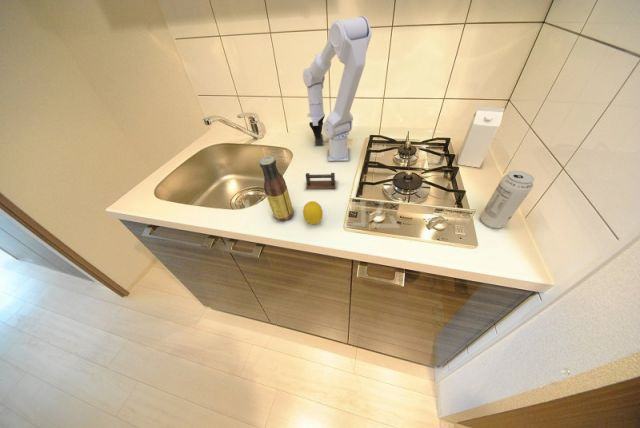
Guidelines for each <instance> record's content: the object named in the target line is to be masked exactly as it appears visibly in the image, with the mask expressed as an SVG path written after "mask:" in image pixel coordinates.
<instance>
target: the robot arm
mask: <svg viewBox="0 0 640 428" xmlns="http://www.w3.org/2000/svg"><path fill="white" fill-rule="evenodd" d="M371 39H372V29H371V25H370V22H369V19H368V17H366V16H364V15H360V16H358V17H351V18H345V19H335V20H333V22H332V23H331V25H330V27H329V28H328V39H327V41H326V44H325V46H324V47H323V50H322V52H317V53H316V54H315V55H314V56H315V57H314V58H313V61H312V62H311V64H310V66H309V67H308V68H304V69H303V72H302V79H303V83H304V85H305V87H306V89H307V99H308V109H309V110H308V111H309V112H308V113H307V114H306V116H307V117H308V118H310V119H311V121H310V122H309V127H310V129H311V131H312V133H313V136H314V140H315V139H320V137H321V134H322V133H324V135H325V136H326V138H328V149H329V151H328V157H327V160H328V162H347V161H349V148H348V135H350V132H351V131H352V129H353V120H354V117H353V114H352V112H351V109H352V106H353V102H354V100H355V97H356V94H357V90H358V88H359V85H360V82H361V78H362V75H363V72H364V70H365V69H364V68H365V66H366V60H367V59H366V58H367V57H366V56H367V51H368V48H369V45H370V42H371ZM335 56H336V57H337V58H338V61H339V62H340V63H341V64H344V67H343V71H342V75H341V79H340V83H339V87H338V90H337V91H338V92H337V95H336V100H335V103H334V108H333V110H332V111H331V112H330V113H329V114H328V115H327V116H326V113H325V112H324V95H323V89H324V83H325V80H326V79H325V77H326V76H325V75H326V74H327V72H328V71H329V70H330V68H331V67H332V60H333V58H334V57H335ZM325 116H326V120H325ZM324 120H325V121H324ZM322 131H323V132H322Z"/></svg>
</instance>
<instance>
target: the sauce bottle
mask: <svg viewBox="0 0 640 428" xmlns="http://www.w3.org/2000/svg"><path fill="white" fill-rule="evenodd" d="M258 163H259V167H260V168H261V170H262V173H263V179H264V181H263V190H264V191H263V192H264V194H265V196H266V198H267V201H268V204H269V208H270V210H271V213H272V215H273V217H274V219H275V220H277V221H279V222H286V221H287V220H290V219H292V217H293V214H294V209H293V205H292V200H291V197H290V194H289V189H288V186H287V184H286V180H285V178H284V176H283V175H282V173H280V172H279V170H278V167H277V161H276V158H275V156H272V155H266V156H263V157H261V158H260V159H259V161H258Z"/></svg>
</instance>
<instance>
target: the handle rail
mask: <svg viewBox="0 0 640 428" xmlns="http://www.w3.org/2000/svg"><path fill="white" fill-rule="evenodd" d="M335 173H336V172H331V173H330V174H328V173H327V174H325V173H324V174H310V173H309V172H305V181H306V188H305V189H306V190H336V177H335V175H336V174H335ZM311 179H330V180H311Z"/></svg>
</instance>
